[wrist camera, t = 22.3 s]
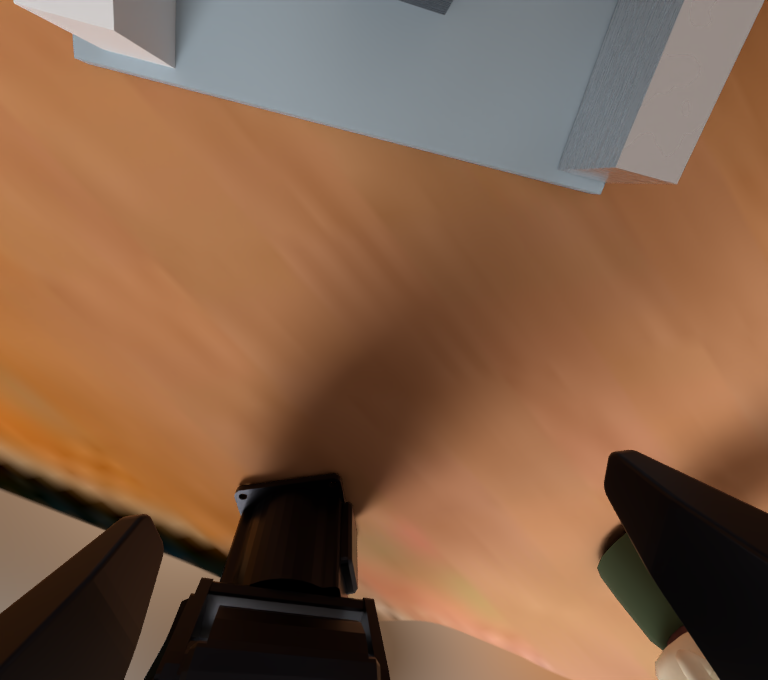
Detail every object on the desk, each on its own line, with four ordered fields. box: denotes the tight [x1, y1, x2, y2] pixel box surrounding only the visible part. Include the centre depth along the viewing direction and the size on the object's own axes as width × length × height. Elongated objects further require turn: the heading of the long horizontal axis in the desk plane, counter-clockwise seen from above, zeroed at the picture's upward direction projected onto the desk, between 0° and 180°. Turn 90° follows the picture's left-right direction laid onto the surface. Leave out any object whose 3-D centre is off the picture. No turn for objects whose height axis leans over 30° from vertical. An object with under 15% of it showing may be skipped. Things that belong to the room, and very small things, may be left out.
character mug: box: [597, 532, 720, 680], centre depth 23 cm, size 11×7×13 cm, turn 53°
